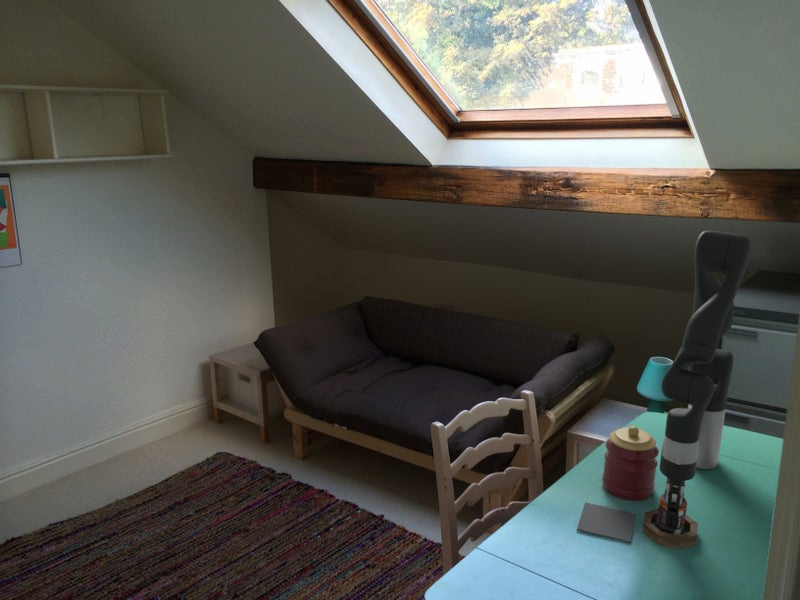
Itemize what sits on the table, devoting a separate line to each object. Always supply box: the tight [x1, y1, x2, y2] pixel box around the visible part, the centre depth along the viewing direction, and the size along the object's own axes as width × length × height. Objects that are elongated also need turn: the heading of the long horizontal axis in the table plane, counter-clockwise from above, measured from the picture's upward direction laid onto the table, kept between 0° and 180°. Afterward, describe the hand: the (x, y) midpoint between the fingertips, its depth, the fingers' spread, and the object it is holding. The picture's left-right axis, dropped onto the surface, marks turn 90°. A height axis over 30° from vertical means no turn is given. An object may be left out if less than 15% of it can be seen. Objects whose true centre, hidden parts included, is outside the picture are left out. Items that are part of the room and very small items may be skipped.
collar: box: [642, 508, 699, 550], centre depth 162 cm, size 12×12×2 cm
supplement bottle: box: [655, 488, 688, 535], centre depth 160 cm, size 6×6×11 cm
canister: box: [601, 425, 660, 502], centre depth 178 cm, size 13×13×18 cm
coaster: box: [576, 501, 636, 544], centre depth 165 cm, size 12×12×1 cm
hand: (671, 518), depth 161 cm, fingers closed on supplement bottle, 6 cm apart
